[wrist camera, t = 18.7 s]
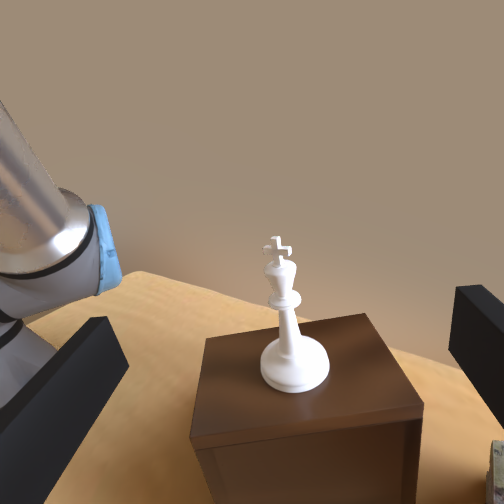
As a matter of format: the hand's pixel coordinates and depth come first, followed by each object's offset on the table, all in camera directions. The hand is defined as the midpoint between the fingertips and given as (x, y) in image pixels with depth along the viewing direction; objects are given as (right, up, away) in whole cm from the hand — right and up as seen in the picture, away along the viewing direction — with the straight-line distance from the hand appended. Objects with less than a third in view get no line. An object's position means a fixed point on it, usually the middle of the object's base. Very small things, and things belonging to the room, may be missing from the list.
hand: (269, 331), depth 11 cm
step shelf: (+4, -15, +17) cm, 23 cm away
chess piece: (+2, -5, +10) cm, 12 cm away
